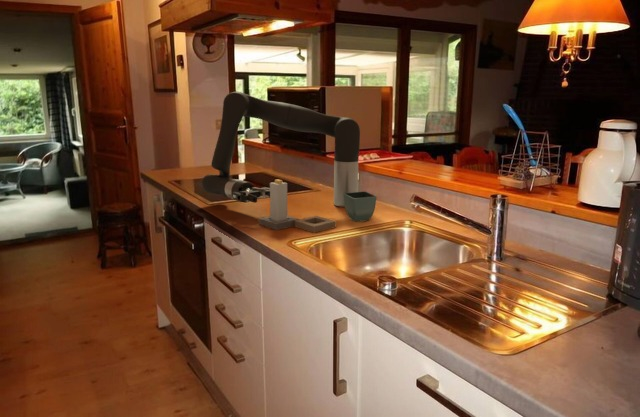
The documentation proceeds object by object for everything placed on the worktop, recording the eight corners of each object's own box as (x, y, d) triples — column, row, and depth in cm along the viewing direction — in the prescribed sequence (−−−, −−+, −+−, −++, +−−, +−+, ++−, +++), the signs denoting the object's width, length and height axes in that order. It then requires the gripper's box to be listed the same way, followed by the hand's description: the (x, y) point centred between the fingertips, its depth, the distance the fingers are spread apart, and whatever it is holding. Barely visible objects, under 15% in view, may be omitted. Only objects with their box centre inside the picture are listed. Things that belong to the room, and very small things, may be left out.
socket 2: (315, 221, 165) (315, 215, 165) (335, 227, 158) (335, 221, 158) (294, 226, 159) (294, 220, 158) (314, 232, 152) (314, 226, 152)
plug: (280, 222, 164) (279, 178, 160) (287, 224, 161) (287, 180, 157) (270, 224, 161) (269, 179, 157) (278, 226, 158) (277, 181, 155)
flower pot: (353, 224, 162) (353, 198, 159) (342, 218, 169) (342, 193, 167) (376, 222, 165) (377, 196, 163) (364, 215, 173) (365, 191, 170)
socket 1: (281, 219, 167) (281, 213, 167) (299, 224, 161) (299, 218, 160) (258, 224, 161) (258, 218, 161) (276, 230, 154) (276, 224, 154)
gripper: (222, 182, 170) (248, 189, 158) (255, 177, 179) (283, 184, 168) (223, 203, 171) (249, 212, 160) (256, 197, 181) (283, 205, 169)
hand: (266, 197), depth 164 cm, fingers open, 8 cm apart
